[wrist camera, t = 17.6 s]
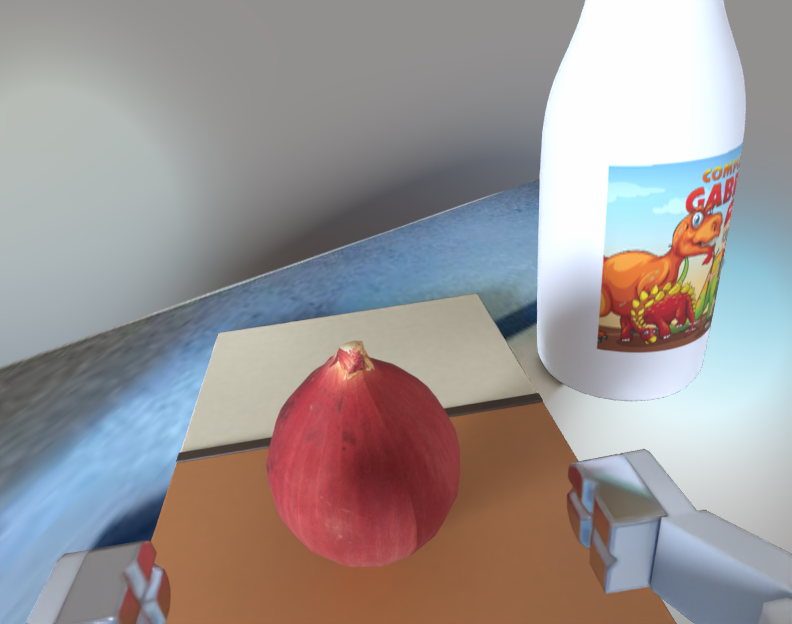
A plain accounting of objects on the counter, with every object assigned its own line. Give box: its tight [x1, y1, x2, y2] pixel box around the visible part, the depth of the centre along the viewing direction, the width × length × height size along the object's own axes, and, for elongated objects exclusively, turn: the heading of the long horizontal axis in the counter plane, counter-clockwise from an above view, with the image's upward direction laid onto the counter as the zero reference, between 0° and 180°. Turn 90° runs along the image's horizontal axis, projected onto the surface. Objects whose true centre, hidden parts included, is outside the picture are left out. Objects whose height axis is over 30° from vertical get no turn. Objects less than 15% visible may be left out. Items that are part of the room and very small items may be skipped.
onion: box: [266, 340, 460, 567], centre depth 17 cm, size 6×6×8 cm
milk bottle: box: [537, 0, 746, 401], centre depth 23 cm, size 8×8×20 cm
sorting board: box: [151, 294, 676, 624], centre depth 24 cm, size 16×22×1 cm
